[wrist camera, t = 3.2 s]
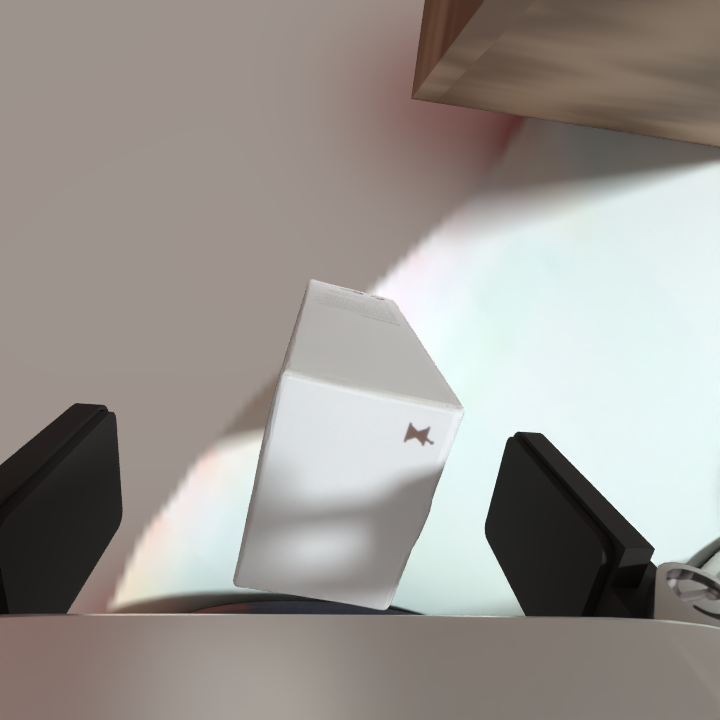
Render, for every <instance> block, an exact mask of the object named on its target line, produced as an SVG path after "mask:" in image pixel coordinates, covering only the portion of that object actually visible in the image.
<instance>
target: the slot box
mask: <svg viewBox="0 0 720 720" xmlns="http://www.w3.org/2000/svg"><path fill="white" fill-rule="evenodd" d="M412 99H416V100H422V101H429V102H435V103H441V104H448V105H454V106H461V107H468V108H474V109H480V110H486V111H493V112H500V113H506V114H513V115H518V116H525V117H531V118H538V119H544V120H551V121H557V122H563V123H570V124H576V125H583V126H589V127H595V128H602V129H608V130H615V131H621V132H628V133H634V134H640V135H647V136H653V137H660V138H666V139H672V140H679V141H685V142H692V143H698V144H704V145H711V146H717V147H720V0H425V5H424V11H423V19H422V26H421V33H420V40H419V47H418V55H417V62H416V69H415V77H414V84H413V91H412Z"/></svg>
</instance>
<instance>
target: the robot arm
mask: <svg viewBox="0 0 720 720" xmlns="http://www.w3.org/2000/svg"><path fill="white" fill-rule="evenodd" d="M121 519H122V496H121V481H120V467H119V453H118V438H117V424H116V416H115V413H114V412H108V409H107V407H106V406H105V405H94V404H79V403H76V404H74V405H72V406H71V407H70V408H69V409H67V410H66V411H65V412H64V413H63V414H61V415H60V416H59V417H58V418H57V419H56V420H54V421H53V422H52V423H51V424H49V425H48V426H47V427H46V428H45V429H43V430H42V431H41V432H40V433H39V434H37V435H36V436H35V437H34V438H33V439H31V440H30V441H29V442H28V443H27V444H25V445H24V446H23V447H22V448H20V449H19V450H18V451H17V452H16V453H15V454H13V455H12V456H11V457H10V458H8V459H7V460H6V461H5V462H4V463H2V464H1V465H0V720H720V551H718V552H717V553H716V554H715V555H714V556H713V557H712V558H711V559H710V560H709V561H708V562H707V563H706V564H705V565H704V566H703V567H702V568H701V569H698V568H695V567H693V566H690V565H687V564H682V563H676V562H668V563H663V564H661V565H659V566H658V568H657V567H656V566H655V565H654V564H653V563H652V562H651V561H650V559H651V557H652V555H653V552H654V550H655V549H654V548H653V547H652V545H651V544H650V543H649V542H648V541H647V540H646V539H645V538H644V537H643V536H642V535H641V534H640V533H639V532H638V531H637V530H636V529H635V528H634V527H633V526H632V525H631V524H630V523H629V522H628V521H627V520H626V519H625V518H624V517H623V516H622V515H621V514H620V513H619V512H618V511H617V510H616V509H615V508H614V507H613V506H612V505H611V504H610V503H609V502H608V501H607V500H606V498H605V497H604V496H603V495H602V494H601V493H600V492H599V491H598V490H597V489H596V488H595V487H594V486H593V485H592V484H591V483H590V482H589V481H588V480H587V479H586V478H585V477H584V476H583V475H582V474H581V473H580V472H579V471H578V470H577V469H576V468H575V467H574V466H573V465H572V464H571V463H570V462H569V461H568V460H567V459H566V458H565V457H564V456H563V455H562V454H561V453H560V451H559V450H558V449H557V448H556V447H555V446H554V445H553V444H552V443H551V442H550V441H549V440H548V439H547V438H546V437H545V436H544V435H543V434H541V433H531V432H517V433H515V435H514V436H513V437H510V438H508V440H507V442H506V446H505V450H504V454H503V457H502V461H501V465H500V469H499V473H498V477H497V480H496V484H495V488H494V492H493V496H492V499H491V503H490V507H489V511H488V515H487V519H486V522H485V535H486V538H487V541H488V543H489V545H490V547H491V549H492V551H493V553H494V554H495V556H496V558H497V560H498V562H499V564H500V566H501V568H502V570H503V572H504V574H505V576H506V578H507V580H508V582H509V584H510V586H511V588H512V590H513V592H514V594H515V596H516V598H517V600H518V602H519V604H520V606H521V608H522V610H523V612H524V614H525V616H457V615H311V614H66V613H67V612H68V610H69V608H70V607H71V605H72V603H73V602H74V600H75V598H76V597H77V595H78V593H79V592H80V590H81V588H82V587H83V585H84V584H85V582H86V580H87V579H88V577H89V575H90V574H91V572H92V571H93V569H94V567H95V566H96V564H97V562H98V561H99V559H100V557H101V556H102V554H103V553H104V551H105V549H106V548H107V546H108V544H109V543H110V541H111V539H112V537H113V536H114V534H115V533H116V531H117V529H118V528H119V525H120V523H121Z"/></svg>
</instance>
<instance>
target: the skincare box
mask: <svg viewBox="0 0 720 720" xmlns="http://www.w3.org/2000/svg"><path fill="white" fill-rule="evenodd" d="M463 415H464V407H463V406H462V405H461V403H460V401H459V400H458V398H457V397H456V395H455V394H454V392H453V391H452V389H451V388H450V386H449V385H448V383H447V382H446V380H445V379H444V377H443V376H442V374H441V372H440V371H439V369H438V368H437V366H436V365H435V363H434V362H433V360H432V359H431V357H430V356H429V354H428V353H427V351H426V349H425V348H424V346H423V345H422V343H421V342H420V340H419V338H418V337H417V335H416V334H415V332H414V331H413V329H412V328H411V326H410V325H409V323H408V322H407V320H406V319H405V317H404V315H403V314H402V312H401V311H400V309H399V308H398V306H397V305H396V303H395V302H394V301H393V300H389V299H386V298H382V297H378V296H374V295H371V294H367V293H364V292H360V291H356V290H352V289H348V288H343V287H339V286H336V285H332V284H328V283H324V282H320V281H317V280H314V279H311V280H309V282H308V285H307V288H306V291H305V295H304V298H303V301H302V304H301V307H300V310H299V314H298V317H297V320H296V324H295V326H294V330H293V333H292V336H291V339H290V342H289V345H288V349H287V352H286V355H285V358H284V362H283V365H282V368H281V371H280V375H279V378H278V382H277V386H276V389H275V393H274V396H273V400H272V404H271V408H270V412H269V416H268V420H267V424H266V427H265V431H264V436H263V441H262V445H261V450H260V455H259V460H258V465H257V470H256V475H255V481H254V486H253V491H252V495H251V500H250V504H249V509H248V514H247V518H246V524H245V528H244V533H243V538H242V543H241V548H240V552H239V557H238V562H237V566H236V570H235V574H234V579H233V582H234V585H235V586H237V587H243V588H251V589H257V590H263V591H270V592H276V593H283V594H290V595H296V596H303V597H309V598H315V599H321V600H328V601H334V602H340V603H346V604H352V605H358V606H363V607H368V608H373V609H378V610H386V609H387V608H388V607H389V605H390V604H391V602H392V599H393V597H394V594H395V591H396V589H397V586H398V584H399V581H400V579H401V576H402V573H403V571H404V568H405V566H406V563H407V560H408V558H409V555H410V553H411V550H412V548H413V546H414V545H415V543H416V541H417V539H418V538H419V536H420V533H421V531H422V529H423V527H424V524H425V522H426V520H427V517H428V514H429V512H430V508H431V504H432V499H433V496H434V493H435V490H436V487H437V484H438V482H439V479H440V477H441V474H442V471H443V468H444V465H445V462H446V460H447V457H448V455H449V452H450V450H451V447H452V444H453V442H454V439H455V436H456V434H457V431H458V429H459V426H460V423H461V421H462V418H463Z"/></svg>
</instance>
